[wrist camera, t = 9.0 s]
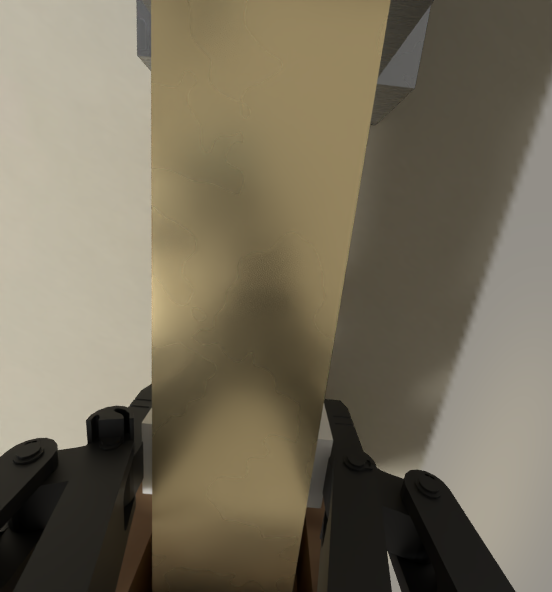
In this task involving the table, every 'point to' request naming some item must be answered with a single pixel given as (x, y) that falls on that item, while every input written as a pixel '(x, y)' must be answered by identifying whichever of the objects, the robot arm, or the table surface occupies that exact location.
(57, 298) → the table surface
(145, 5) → the sleeve
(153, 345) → the rail
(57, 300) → the table surface
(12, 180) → the table surface
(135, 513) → the socket block
